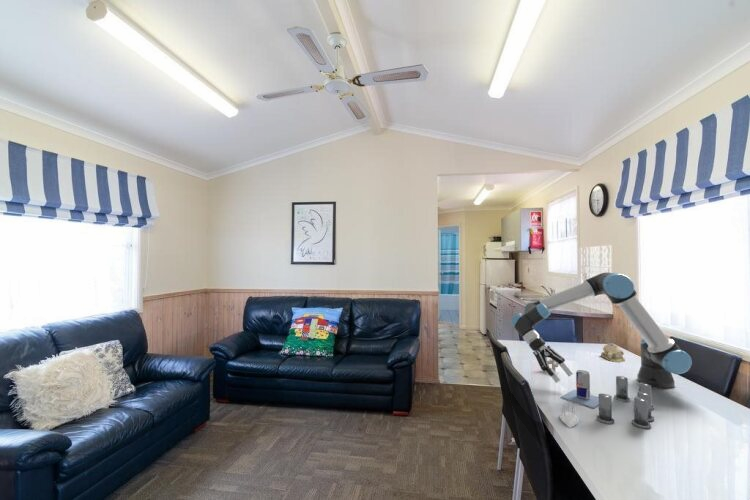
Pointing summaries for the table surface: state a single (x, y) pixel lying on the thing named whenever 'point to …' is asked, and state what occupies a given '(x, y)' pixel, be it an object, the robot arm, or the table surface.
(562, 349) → the table surface
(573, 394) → the mat
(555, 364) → the pipe connector
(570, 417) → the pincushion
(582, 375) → the energy drink
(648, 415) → the spacer posts
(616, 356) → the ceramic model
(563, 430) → the table surface
